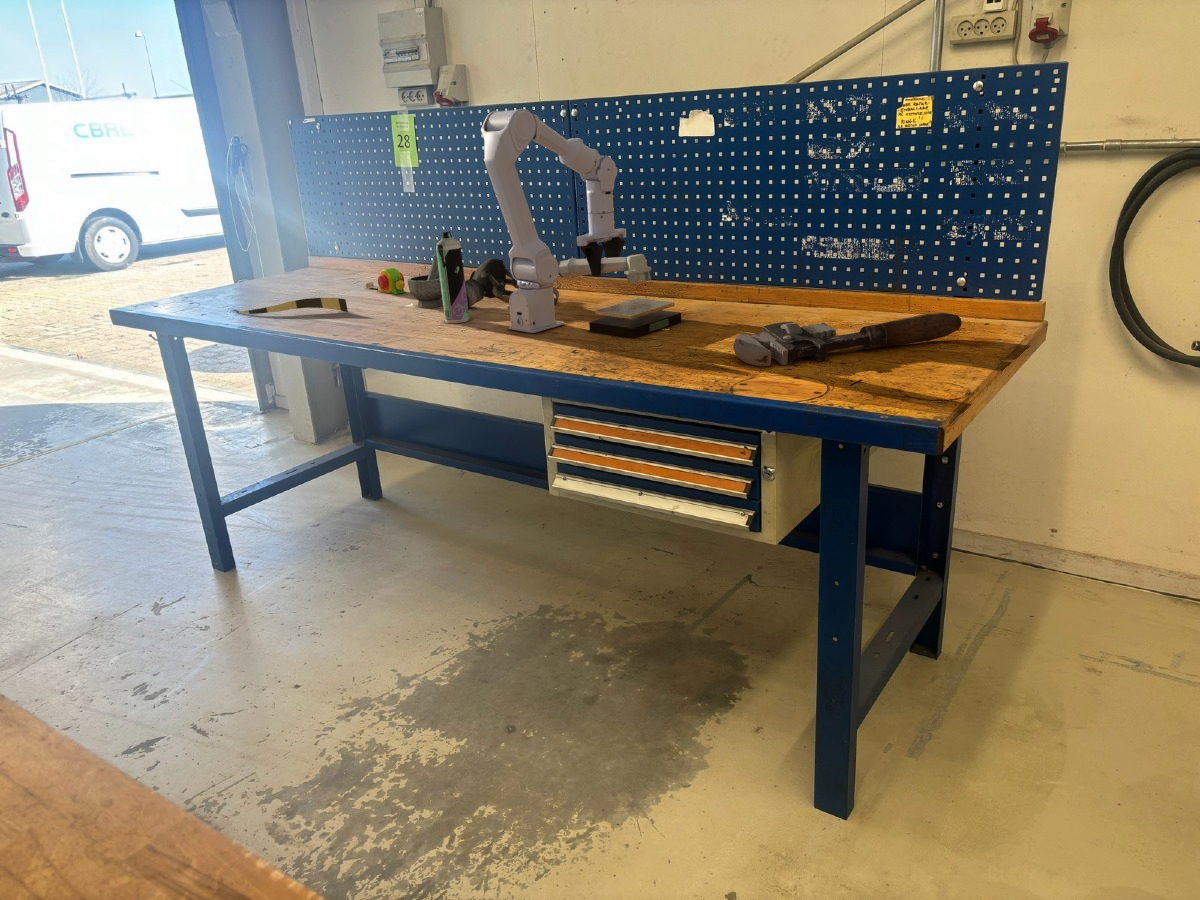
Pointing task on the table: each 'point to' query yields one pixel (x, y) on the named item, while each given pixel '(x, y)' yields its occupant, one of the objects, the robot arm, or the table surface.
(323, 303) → the tape
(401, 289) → the toy measuring tape
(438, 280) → the mortar and pestle
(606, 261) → the pale grey handled tool
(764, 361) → the pipe wrench
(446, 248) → the spray can
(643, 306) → the pan
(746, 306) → the table surface
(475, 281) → the respirator mask
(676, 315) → the scale
